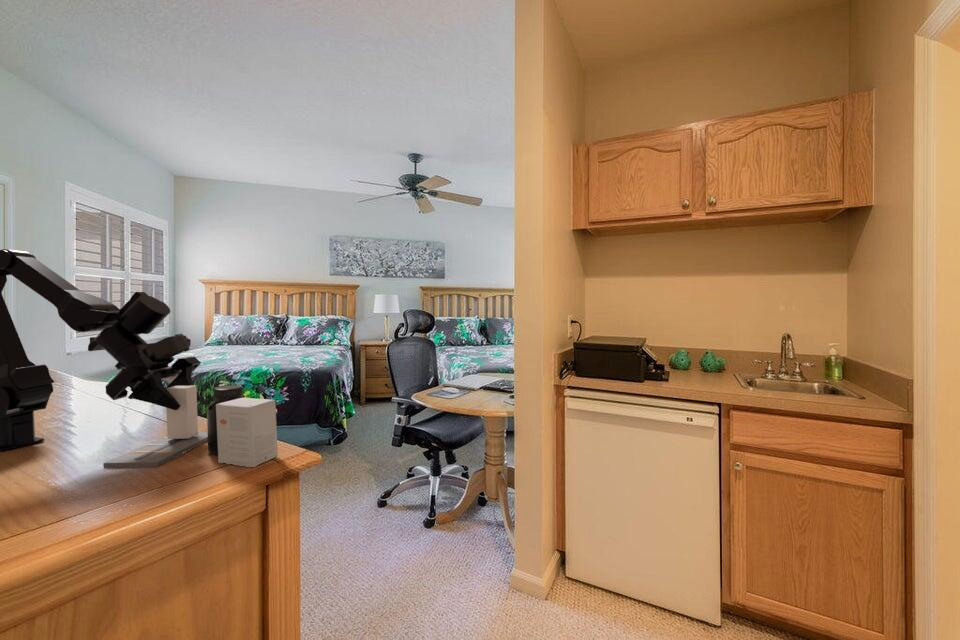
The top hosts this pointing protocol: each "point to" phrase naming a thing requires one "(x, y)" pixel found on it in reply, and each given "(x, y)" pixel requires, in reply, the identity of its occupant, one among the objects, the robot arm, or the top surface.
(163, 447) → the board
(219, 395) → the supplement bottle
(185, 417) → the fader tab
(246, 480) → the top surface
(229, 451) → the small box
